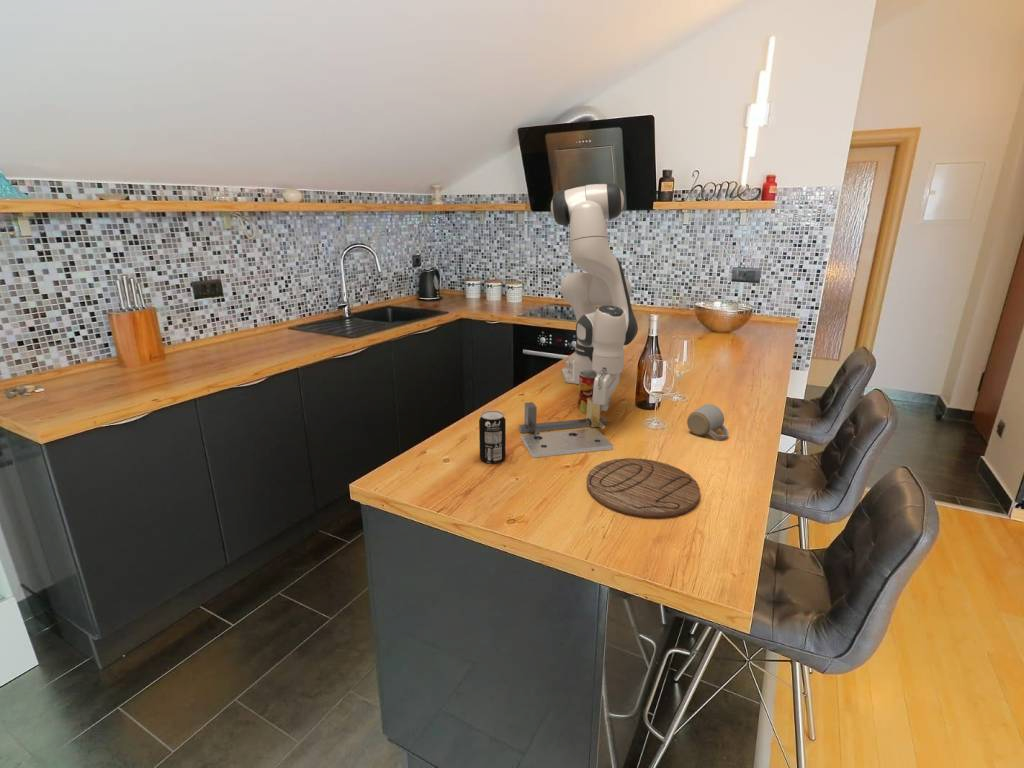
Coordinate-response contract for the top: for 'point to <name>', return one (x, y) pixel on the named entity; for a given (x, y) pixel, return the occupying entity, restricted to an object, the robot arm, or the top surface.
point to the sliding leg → (593, 413)
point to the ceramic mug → (707, 421)
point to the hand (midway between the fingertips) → (605, 409)
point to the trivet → (643, 488)
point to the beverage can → (492, 436)
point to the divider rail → (548, 426)
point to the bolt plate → (565, 442)
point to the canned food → (585, 389)
